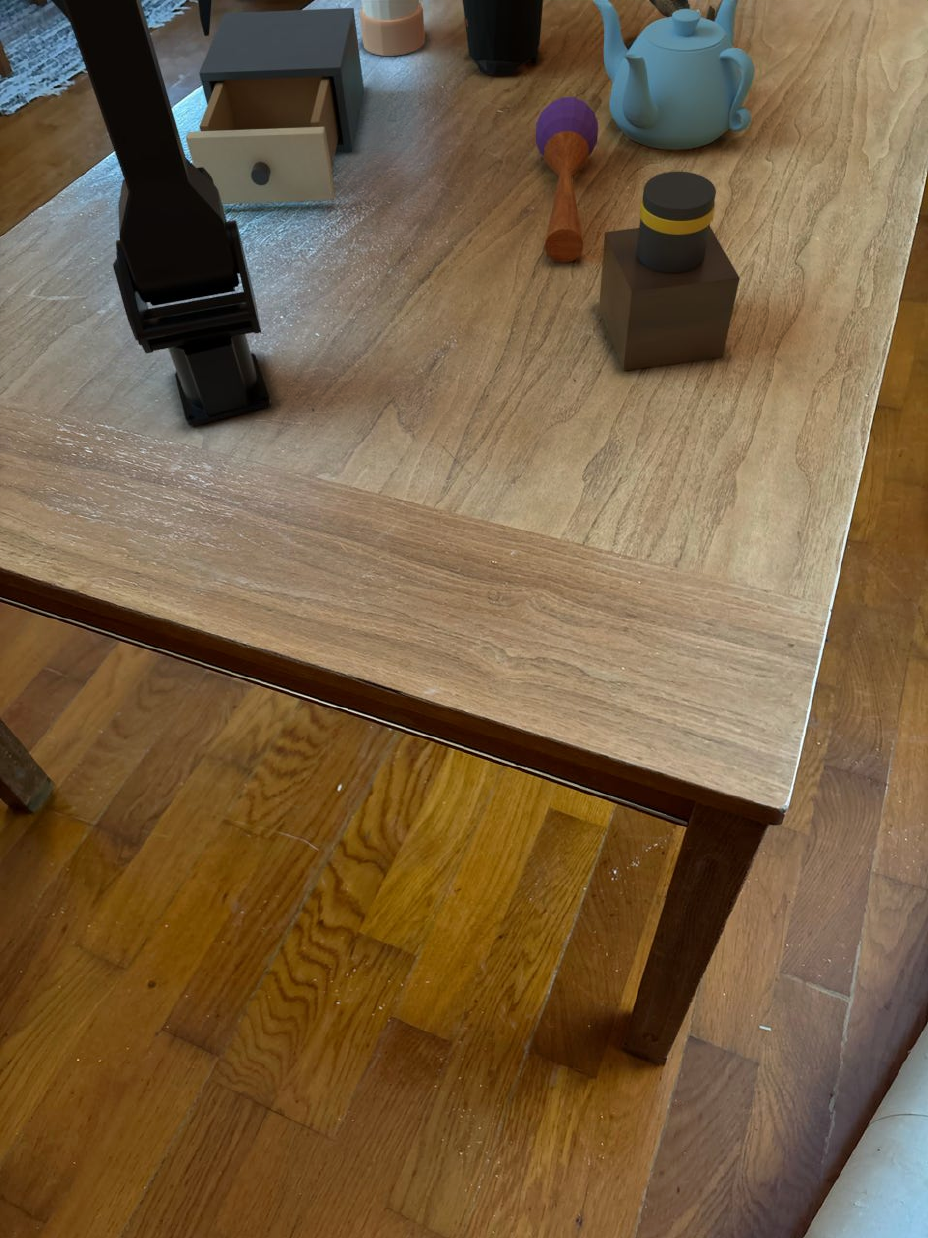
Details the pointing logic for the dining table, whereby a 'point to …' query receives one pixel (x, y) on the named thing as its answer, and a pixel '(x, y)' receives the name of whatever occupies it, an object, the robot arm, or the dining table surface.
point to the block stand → (665, 305)
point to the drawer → (269, 140)
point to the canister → (675, 221)
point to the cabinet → (292, 55)
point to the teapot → (677, 78)
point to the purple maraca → (565, 169)
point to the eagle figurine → (668, 3)
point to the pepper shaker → (392, 26)
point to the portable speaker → (502, 33)
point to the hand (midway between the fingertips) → (151, 41)
